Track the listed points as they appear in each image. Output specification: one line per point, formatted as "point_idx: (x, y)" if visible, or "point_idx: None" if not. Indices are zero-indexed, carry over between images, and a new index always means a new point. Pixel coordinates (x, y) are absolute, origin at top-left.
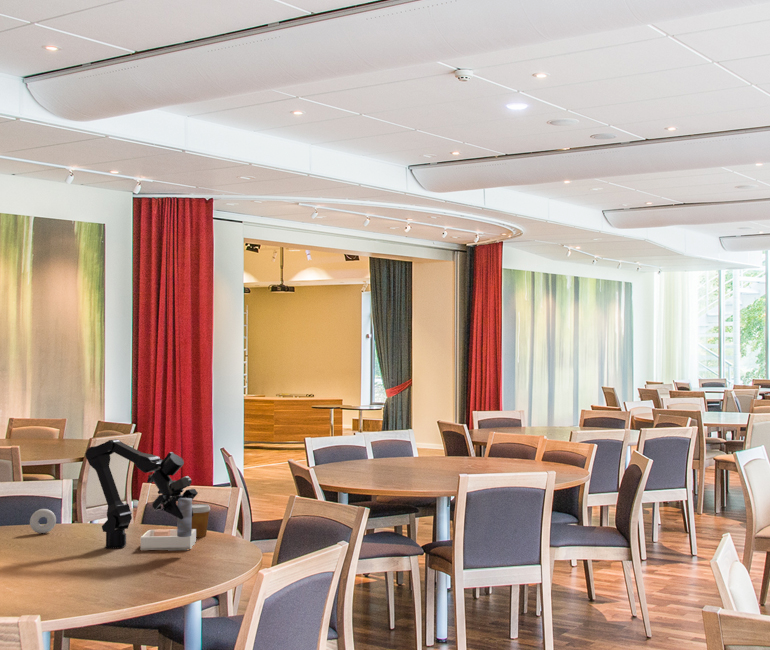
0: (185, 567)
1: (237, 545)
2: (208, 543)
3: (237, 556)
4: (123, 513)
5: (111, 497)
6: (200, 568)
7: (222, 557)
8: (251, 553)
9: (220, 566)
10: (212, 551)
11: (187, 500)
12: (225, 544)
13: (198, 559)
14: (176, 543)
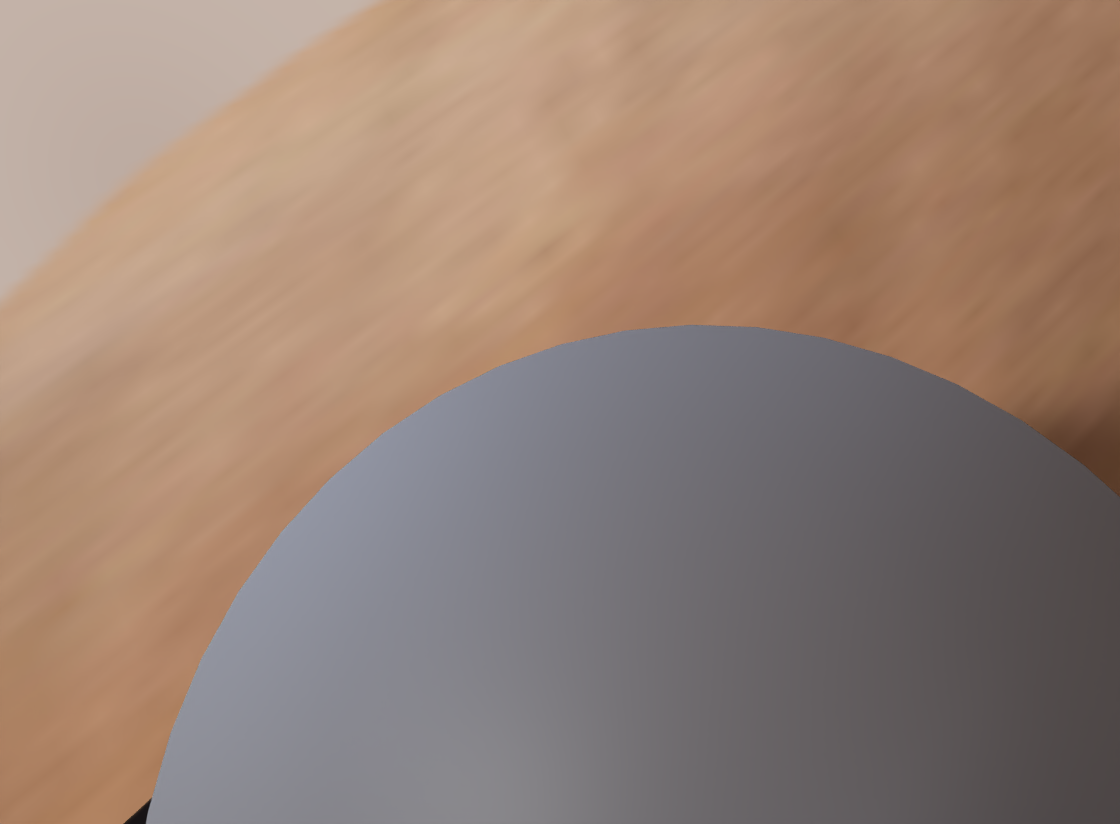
0: (972, 223)
1: (60, 380)
2: (62, 712)
3: (444, 114)
4: None
5: None
6: (926, 101)
7: (529, 193)
8: (304, 85)
9: (789, 18)
10: (368, 422)
11: (927, 388)
12: (54, 513)
13: (689, 321)
14: None
